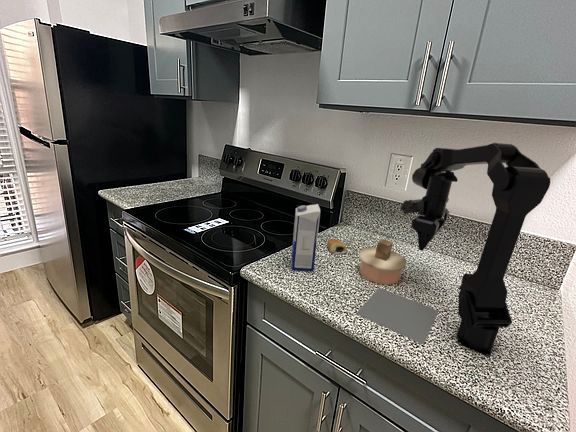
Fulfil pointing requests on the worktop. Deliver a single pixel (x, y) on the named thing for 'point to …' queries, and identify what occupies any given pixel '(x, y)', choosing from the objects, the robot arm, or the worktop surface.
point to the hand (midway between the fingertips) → (424, 245)
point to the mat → (399, 314)
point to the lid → (382, 257)
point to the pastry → (336, 246)
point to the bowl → (379, 274)
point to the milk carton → (305, 237)
